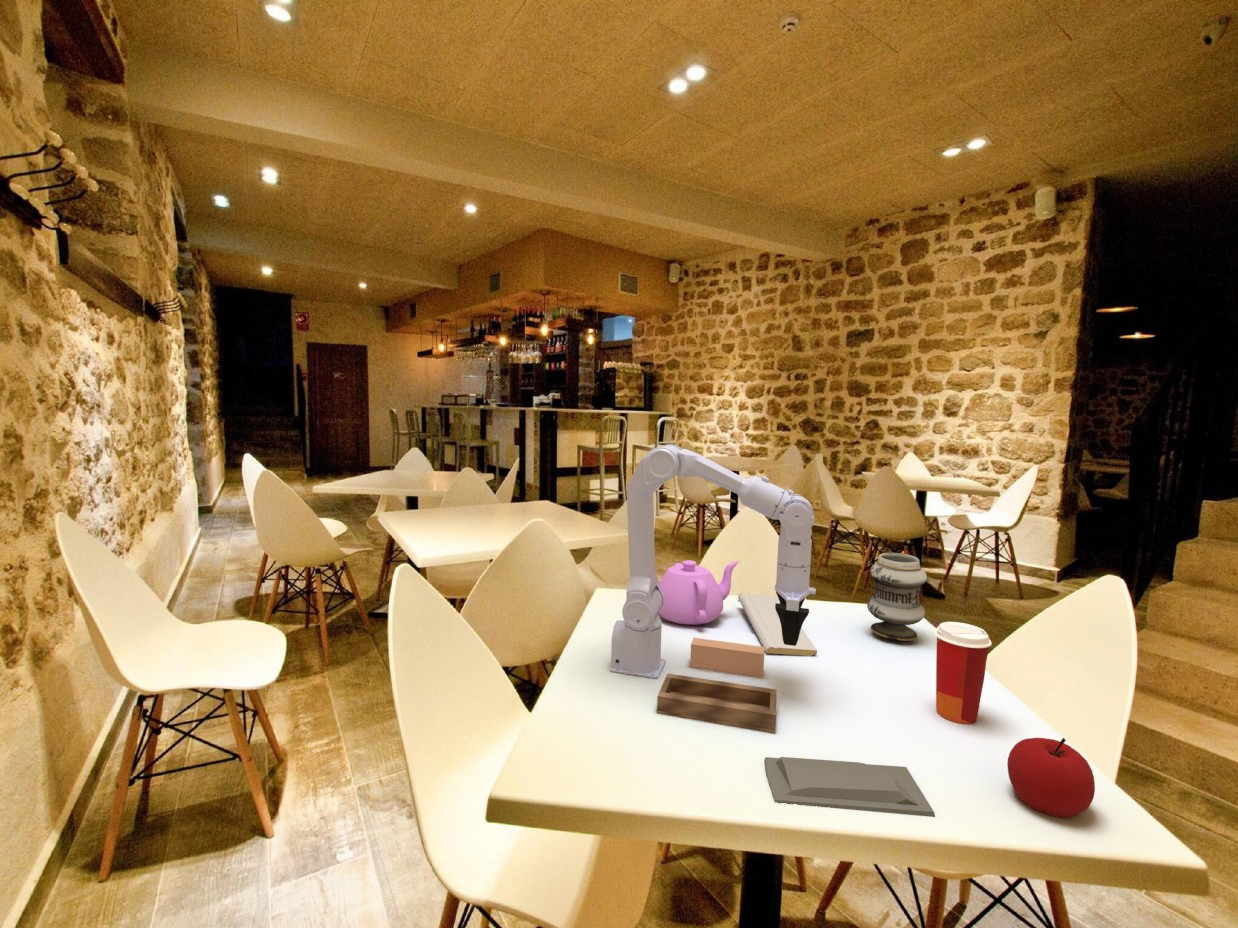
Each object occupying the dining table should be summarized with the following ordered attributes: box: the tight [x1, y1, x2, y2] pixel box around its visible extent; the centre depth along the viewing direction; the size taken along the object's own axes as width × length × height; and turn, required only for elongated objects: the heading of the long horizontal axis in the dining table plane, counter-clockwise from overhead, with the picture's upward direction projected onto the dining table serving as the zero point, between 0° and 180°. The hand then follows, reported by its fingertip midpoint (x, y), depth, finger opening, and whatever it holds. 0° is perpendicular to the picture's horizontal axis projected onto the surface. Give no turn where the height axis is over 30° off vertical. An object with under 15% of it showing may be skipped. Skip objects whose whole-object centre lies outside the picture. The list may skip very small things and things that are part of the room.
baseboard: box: [737, 592, 818, 657], centre depth 134 cm, size 31×3×12 cm
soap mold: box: [763, 756, 936, 818], centre depth 77 cm, size 10×20×4 cm, turn 85°
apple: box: [1007, 737, 1096, 819], centre depth 74 cm, size 9×9×10 cm
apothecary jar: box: [866, 552, 928, 642], centre depth 132 cm, size 12×12×18 cm
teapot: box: [658, 559, 741, 626], centre depth 141 cm, size 22×22×14 cm
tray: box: [656, 672, 778, 735], centre depth 96 cm, size 19×9×4 cm, turn 74°
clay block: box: [689, 637, 766, 679], centre depth 112 cm, size 14×4×5 cm, turn 74°
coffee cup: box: [933, 621, 993, 725], centre depth 96 cm, size 8×8×15 cm
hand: (789, 636), depth 104 cm, fingers open, 7 cm apart
